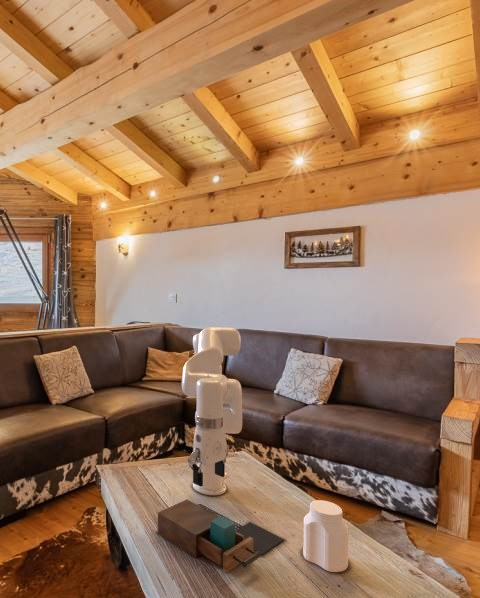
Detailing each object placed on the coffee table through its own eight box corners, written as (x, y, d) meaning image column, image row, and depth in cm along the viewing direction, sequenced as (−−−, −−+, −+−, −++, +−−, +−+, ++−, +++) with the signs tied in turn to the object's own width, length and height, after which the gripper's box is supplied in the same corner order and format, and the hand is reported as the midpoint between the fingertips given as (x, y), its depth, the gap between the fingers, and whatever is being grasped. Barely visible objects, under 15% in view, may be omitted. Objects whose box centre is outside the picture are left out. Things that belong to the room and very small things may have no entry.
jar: (353, 562, 120) (354, 510, 119) (337, 576, 114) (338, 521, 113) (313, 543, 129) (314, 494, 128) (297, 555, 123) (297, 504, 122)
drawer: (266, 562, 118) (266, 545, 118) (239, 581, 111) (240, 563, 110) (212, 531, 133) (212, 516, 133) (185, 546, 125) (186, 530, 125)
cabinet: (225, 540, 130) (225, 519, 130) (195, 557, 122) (195, 535, 121) (186, 518, 142) (186, 499, 142) (157, 533, 134) (157, 512, 134)
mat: (249, 523, 139) (249, 522, 139) (284, 540, 130) (284, 539, 130) (227, 536, 132) (227, 535, 132) (261, 555, 123) (261, 554, 123)
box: (220, 541, 126) (221, 515, 126) (235, 550, 122) (235, 522, 122) (210, 548, 123) (210, 521, 123) (224, 556, 119) (224, 528, 119)
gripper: (199, 431, 115) (199, 493, 115) (238, 419, 125) (237, 476, 126) (179, 424, 121) (178, 483, 121) (217, 413, 131) (217, 468, 132)
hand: (208, 479), depth 123 cm, fingers open, 9 cm apart
